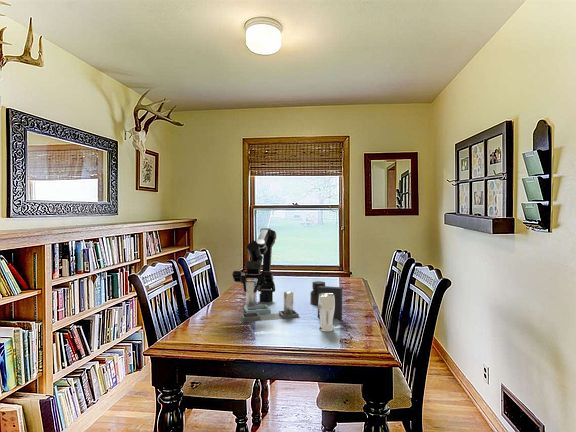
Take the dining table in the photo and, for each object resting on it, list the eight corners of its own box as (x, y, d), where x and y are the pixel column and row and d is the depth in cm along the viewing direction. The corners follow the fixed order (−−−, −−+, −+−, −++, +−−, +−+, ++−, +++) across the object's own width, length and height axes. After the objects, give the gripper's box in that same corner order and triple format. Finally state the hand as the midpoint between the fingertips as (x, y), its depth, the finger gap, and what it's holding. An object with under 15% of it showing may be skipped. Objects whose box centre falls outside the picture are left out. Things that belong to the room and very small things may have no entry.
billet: (292, 314, 195) (291, 291, 195) (294, 316, 191) (294, 293, 191) (282, 314, 194) (282, 291, 194) (285, 317, 190) (285, 293, 190)
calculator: (342, 319, 191) (342, 286, 190) (340, 321, 187) (340, 288, 186) (319, 317, 194) (319, 285, 194) (317, 319, 190) (317, 287, 190)
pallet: (295, 314, 199) (295, 309, 199) (300, 320, 189) (300, 314, 189) (239, 318, 192) (239, 312, 192) (242, 324, 182) (242, 318, 182)
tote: (266, 309, 208) (266, 304, 208) (270, 315, 197) (270, 309, 197) (244, 311, 205) (244, 305, 205) (247, 316, 194) (247, 311, 194)
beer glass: (317, 327, 177) (317, 292, 177) (333, 327, 178) (333, 292, 178) (319, 332, 170) (319, 296, 170) (336, 331, 171) (336, 296, 171)
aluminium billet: (254, 304, 191) (254, 280, 191) (256, 306, 187) (256, 282, 186) (245, 304, 190) (245, 281, 190) (246, 306, 186) (246, 282, 185)
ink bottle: (331, 304, 218) (331, 282, 218) (320, 307, 212) (320, 284, 212) (316, 301, 225) (316, 280, 225) (306, 304, 219) (306, 282, 218)
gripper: (233, 253, 193) (226, 281, 182) (272, 254, 190) (267, 282, 180) (237, 267, 201) (231, 295, 190) (275, 268, 198) (271, 296, 188)
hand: (249, 291), depth 187 cm, fingers closed on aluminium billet, 4 cm apart
